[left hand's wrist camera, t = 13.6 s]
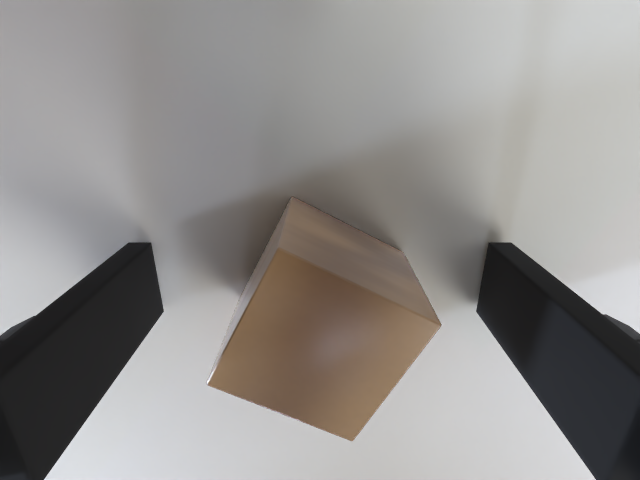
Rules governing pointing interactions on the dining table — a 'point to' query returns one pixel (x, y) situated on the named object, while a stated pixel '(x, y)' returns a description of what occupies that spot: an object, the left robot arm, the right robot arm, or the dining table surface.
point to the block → (324, 324)
